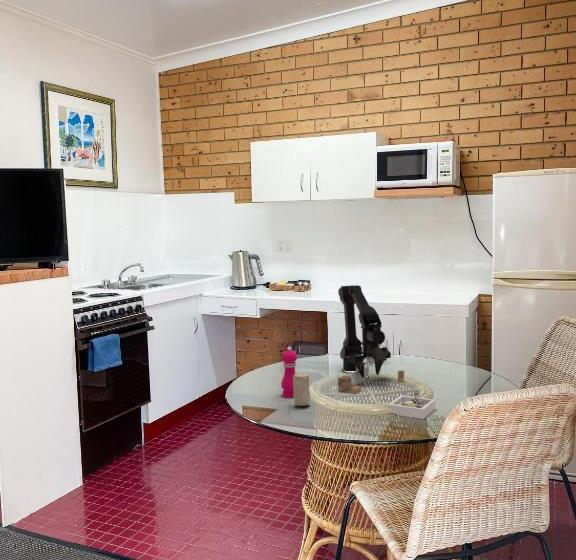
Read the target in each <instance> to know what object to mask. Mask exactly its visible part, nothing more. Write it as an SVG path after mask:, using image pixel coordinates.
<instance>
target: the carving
mask: <svg viewBox="0 0 576 560" xmlns="http://www.w3.org/2000/svg"><path fill="white" fill-rule="evenodd" d="M293 386H294V388H293V389H294V390H293V391H294V398H293V403H294V404H295V406H298V407H301V406H309V405H310V402H311V394H310V375H309V373H307V372H297V373H295V374H294V378H293Z"/></svg>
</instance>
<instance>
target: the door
mask: <svg viewBox="0 0 576 560" xmlns="http://www.w3.org/2000/svg"><path fill="white" fill-rule="evenodd" d="M369 368H370V367H369V366H368V365H367V366H366V367H364V378H362V377H361V375H360V373H359V371H356V372H354V373H352V385H353V386H359V384H361V383H362V382H364V381H366V380H367V379H366V378H367V376H368V374H369V375H370V371H369V370H370V369H369Z"/></svg>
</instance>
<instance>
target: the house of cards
mask: <svg viewBox="0 0 576 560" xmlns="http://www.w3.org/2000/svg"><path fill="white" fill-rule="evenodd" d="M420 396H421V395H420V391H419V390H416V391H415V392H414V397H415V398H413V399H412V400H411V401H413V403H415V404H417V406H416V408H417V407H418V408H422V407H424V406H425V404H423V402H422V400H420V398H421V397H420ZM417 397H418V399H417ZM415 400H416V401H415ZM419 401H420V402H419ZM416 402H417V403H416ZM420 403H421V404H420Z"/></svg>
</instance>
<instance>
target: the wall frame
mask: <svg viewBox="0 0 576 560" xmlns="http://www.w3.org/2000/svg"><path fill="white" fill-rule="evenodd" d="M364 367H366V366H365V365H364ZM356 371H358V369H357V367H356ZM403 381H404V382H405V370H401V369H399V370H398V371H397V382H398V383H403Z"/></svg>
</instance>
